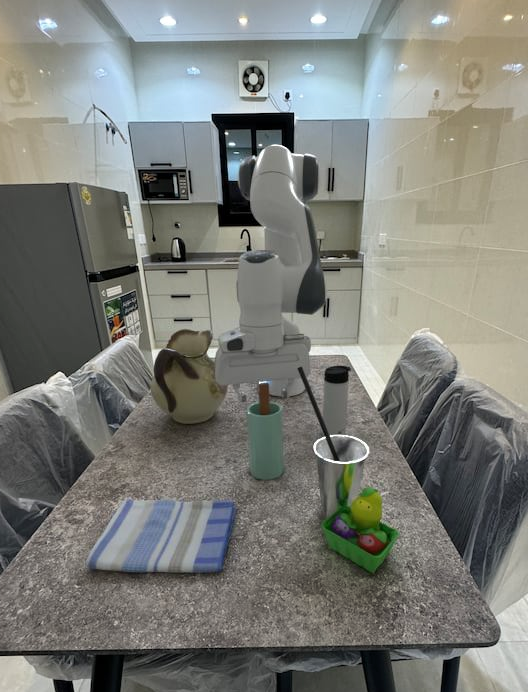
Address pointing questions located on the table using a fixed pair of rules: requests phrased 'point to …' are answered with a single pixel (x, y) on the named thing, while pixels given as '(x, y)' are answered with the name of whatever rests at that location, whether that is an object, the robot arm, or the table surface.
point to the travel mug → (335, 399)
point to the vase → (265, 441)
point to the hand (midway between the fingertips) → (264, 399)
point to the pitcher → (187, 378)
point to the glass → (336, 463)
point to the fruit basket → (361, 531)
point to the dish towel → (165, 537)
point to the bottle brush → (264, 399)
